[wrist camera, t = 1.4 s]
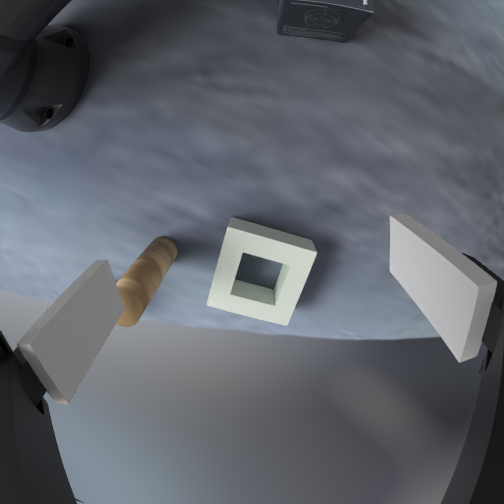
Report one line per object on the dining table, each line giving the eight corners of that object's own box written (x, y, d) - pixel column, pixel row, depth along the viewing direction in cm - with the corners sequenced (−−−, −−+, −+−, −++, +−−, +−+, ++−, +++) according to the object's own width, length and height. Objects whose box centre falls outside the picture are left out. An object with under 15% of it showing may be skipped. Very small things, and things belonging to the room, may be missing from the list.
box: (344, 5, 26) (372, -33, 16) (344, 43, 28) (375, 14, 18) (277, -4, 26) (284, -49, 16) (276, 35, 28) (282, -2, 18)
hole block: (211, 289, 39) (206, 305, 36) (230, 216, 36) (227, 226, 32) (284, 308, 40) (287, 325, 37) (311, 240, 37) (317, 252, 33)
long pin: (148, 258, 38) (102, 319, 25) (152, 233, 37) (103, 286, 24) (174, 266, 38) (138, 331, 25) (180, 241, 37) (141, 298, 24)
